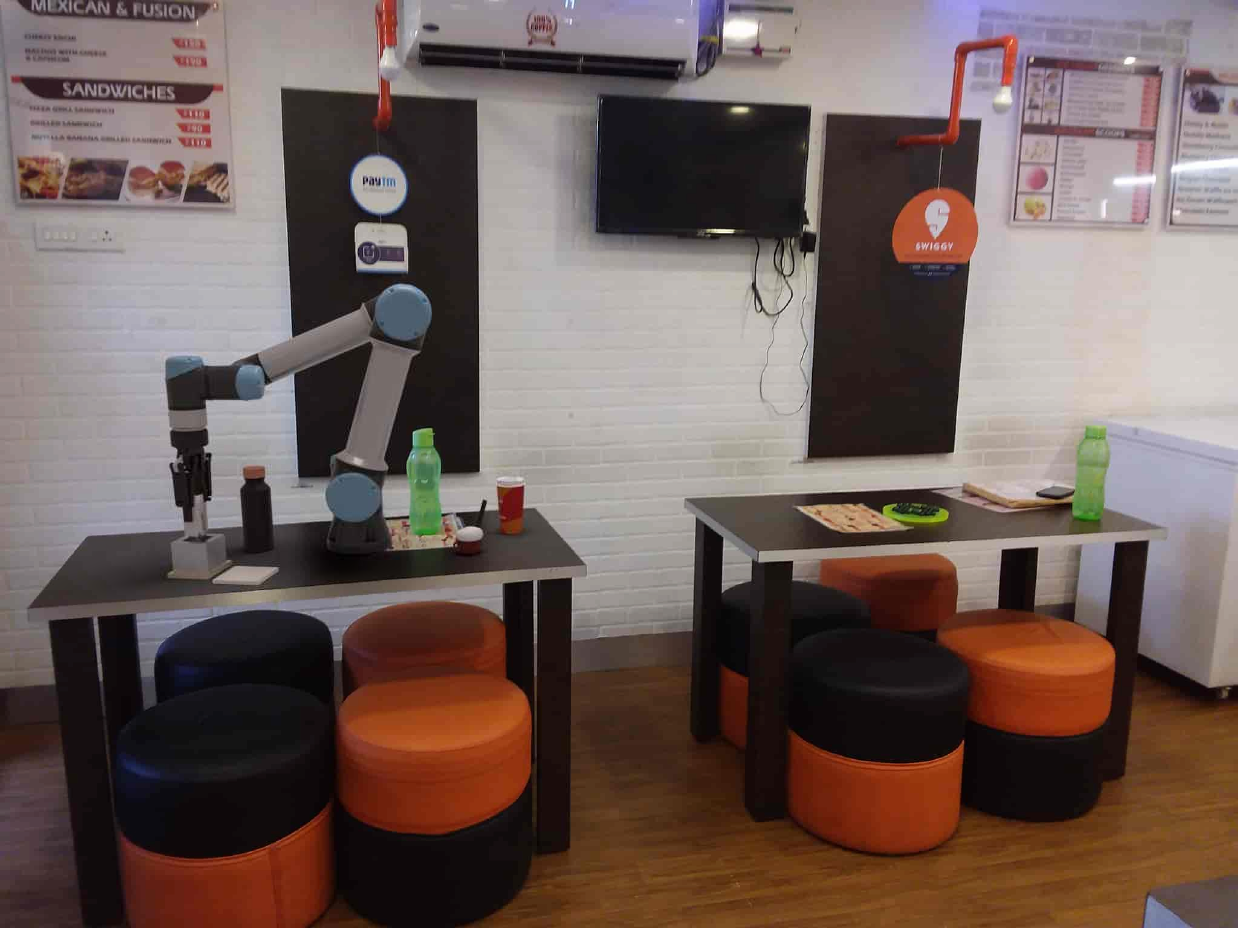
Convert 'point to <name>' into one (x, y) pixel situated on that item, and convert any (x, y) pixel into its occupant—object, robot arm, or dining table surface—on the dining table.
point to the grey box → (198, 557)
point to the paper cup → (510, 504)
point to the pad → (245, 575)
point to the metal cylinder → (199, 519)
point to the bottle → (256, 511)
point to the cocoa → (471, 535)
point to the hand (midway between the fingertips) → (196, 532)
